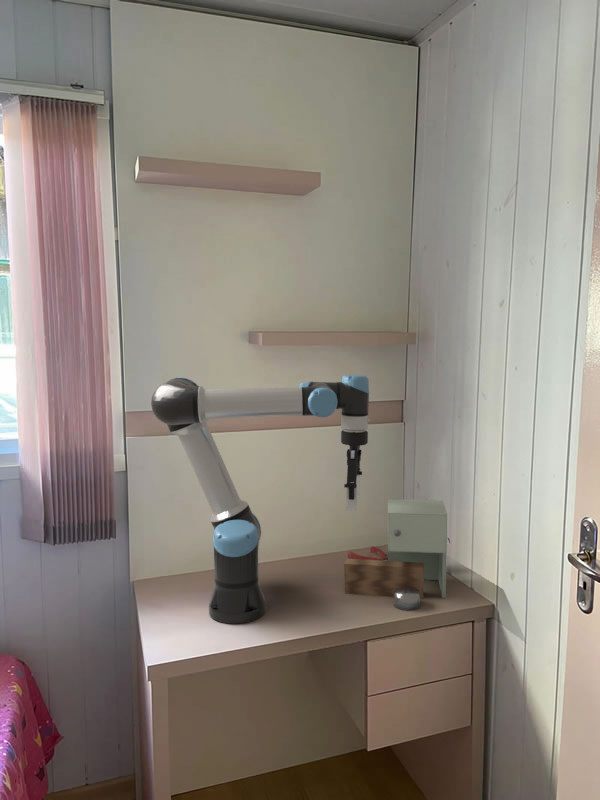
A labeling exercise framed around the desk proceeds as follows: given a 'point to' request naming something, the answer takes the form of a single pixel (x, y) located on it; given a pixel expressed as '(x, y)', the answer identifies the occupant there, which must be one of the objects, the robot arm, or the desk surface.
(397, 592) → the silver metal dome
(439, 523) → the green bedside cabinet
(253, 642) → the desk surface
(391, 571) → the brown wooden block
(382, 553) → the pliers
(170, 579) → the desk surface
